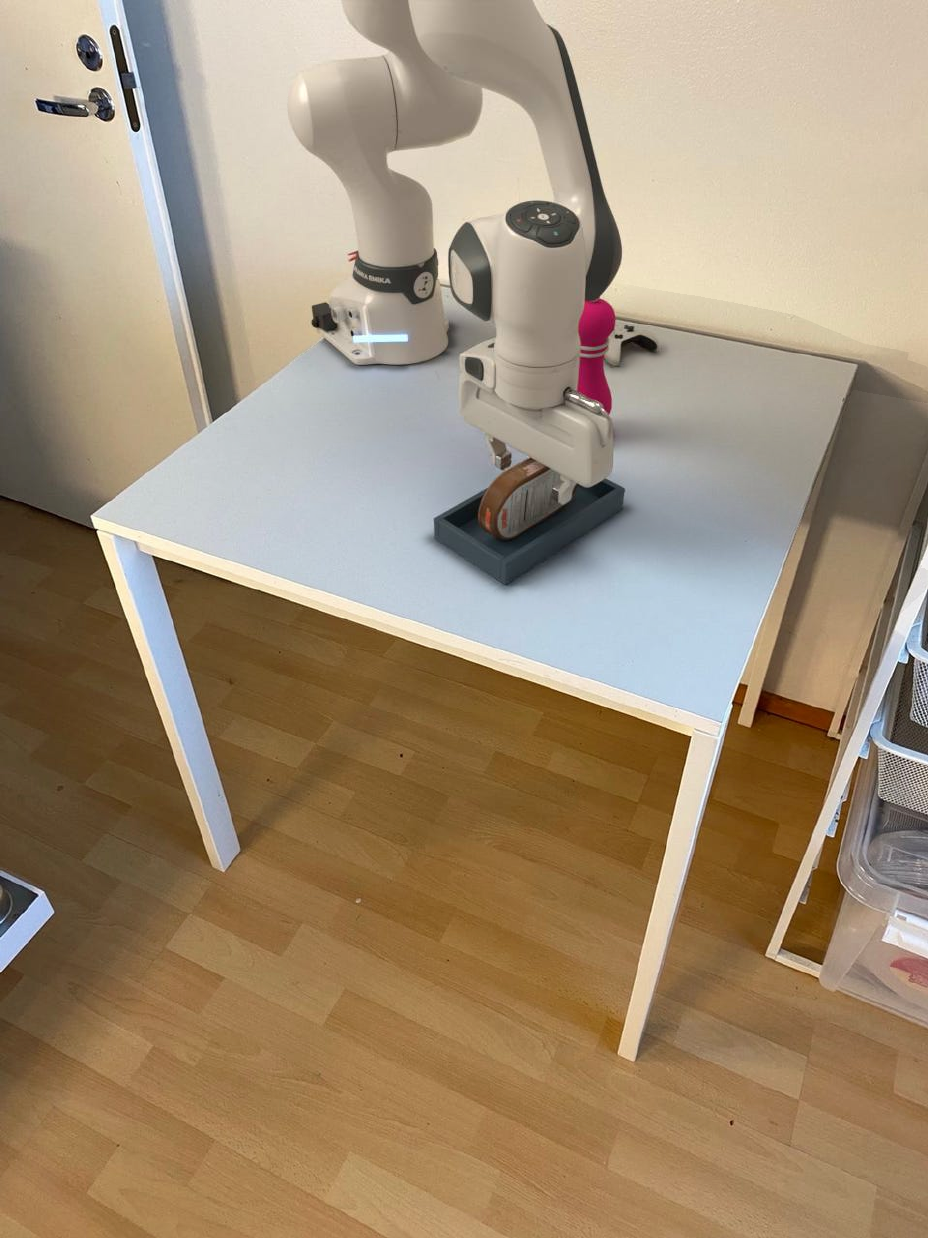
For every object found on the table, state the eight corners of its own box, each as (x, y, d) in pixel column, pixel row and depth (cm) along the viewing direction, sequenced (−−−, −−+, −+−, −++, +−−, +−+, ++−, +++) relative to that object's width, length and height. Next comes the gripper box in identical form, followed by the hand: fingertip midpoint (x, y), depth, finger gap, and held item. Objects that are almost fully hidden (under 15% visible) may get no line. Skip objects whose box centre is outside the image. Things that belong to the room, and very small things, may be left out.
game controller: (617, 364, 134) (599, 327, 134) (597, 378, 139) (580, 342, 139) (663, 345, 138) (646, 309, 138) (642, 359, 143) (626, 324, 143)
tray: (434, 538, 106) (433, 518, 104) (551, 470, 116) (552, 450, 114) (505, 585, 100) (505, 564, 98) (622, 508, 110) (625, 488, 108)
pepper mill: (546, 439, 121) (553, 293, 108) (567, 414, 126) (577, 271, 112) (596, 452, 119) (611, 304, 105) (616, 426, 123) (632, 281, 110)
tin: (564, 490, 112) (568, 430, 106) (583, 501, 110) (589, 441, 104) (475, 543, 104) (475, 482, 99) (495, 556, 103) (495, 494, 97)
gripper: (633, 398, 91) (619, 510, 100) (489, 331, 102) (488, 438, 111) (592, 421, 88) (581, 535, 97) (448, 350, 99) (451, 458, 108)
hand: (530, 482), depth 104 cm, fingers open, 8 cm apart
